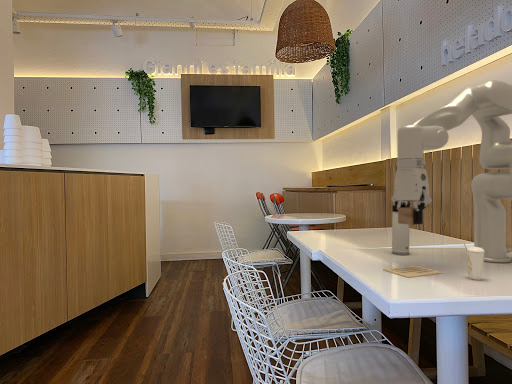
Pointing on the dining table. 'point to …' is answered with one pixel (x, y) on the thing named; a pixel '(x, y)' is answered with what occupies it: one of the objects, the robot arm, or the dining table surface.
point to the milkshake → (475, 262)
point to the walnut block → (406, 215)
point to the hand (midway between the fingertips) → (410, 222)
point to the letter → (412, 271)
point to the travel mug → (399, 234)
